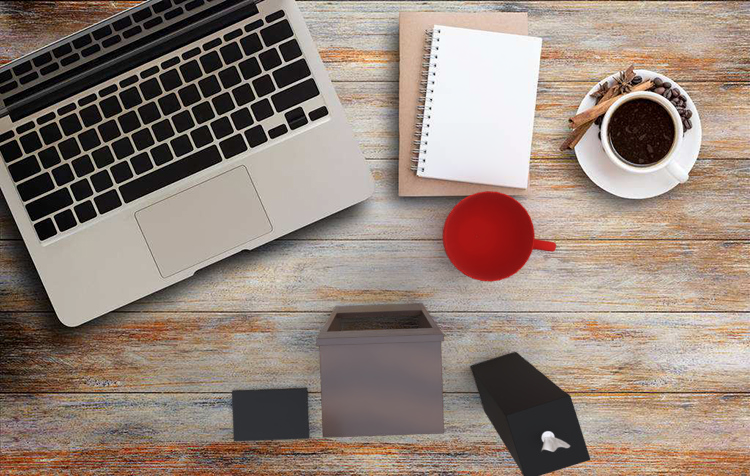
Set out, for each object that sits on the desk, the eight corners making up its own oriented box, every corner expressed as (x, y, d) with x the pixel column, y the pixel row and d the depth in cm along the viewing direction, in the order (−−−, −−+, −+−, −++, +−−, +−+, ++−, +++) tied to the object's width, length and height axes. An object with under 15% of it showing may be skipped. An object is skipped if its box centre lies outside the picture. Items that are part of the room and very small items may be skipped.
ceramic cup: (534, 286, 87) (554, 292, 77) (430, 269, 88) (437, 274, 78) (547, 206, 87) (569, 202, 77) (443, 190, 88) (451, 184, 77)
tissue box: (469, 365, 88) (512, 425, 60) (516, 350, 88) (581, 403, 60) (484, 411, 88) (534, 493, 60) (530, 397, 87) (602, 472, 59)
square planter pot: (425, 377, 88) (447, 443, 60) (338, 380, 88) (319, 448, 60) (422, 303, 88) (443, 334, 60) (335, 306, 88) (315, 338, 60)
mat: (309, 437, 88) (308, 438, 87) (234, 440, 88) (233, 441, 87) (307, 387, 88) (306, 388, 87) (232, 390, 88) (231, 391, 87)
